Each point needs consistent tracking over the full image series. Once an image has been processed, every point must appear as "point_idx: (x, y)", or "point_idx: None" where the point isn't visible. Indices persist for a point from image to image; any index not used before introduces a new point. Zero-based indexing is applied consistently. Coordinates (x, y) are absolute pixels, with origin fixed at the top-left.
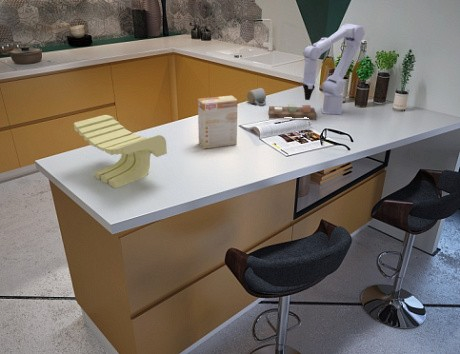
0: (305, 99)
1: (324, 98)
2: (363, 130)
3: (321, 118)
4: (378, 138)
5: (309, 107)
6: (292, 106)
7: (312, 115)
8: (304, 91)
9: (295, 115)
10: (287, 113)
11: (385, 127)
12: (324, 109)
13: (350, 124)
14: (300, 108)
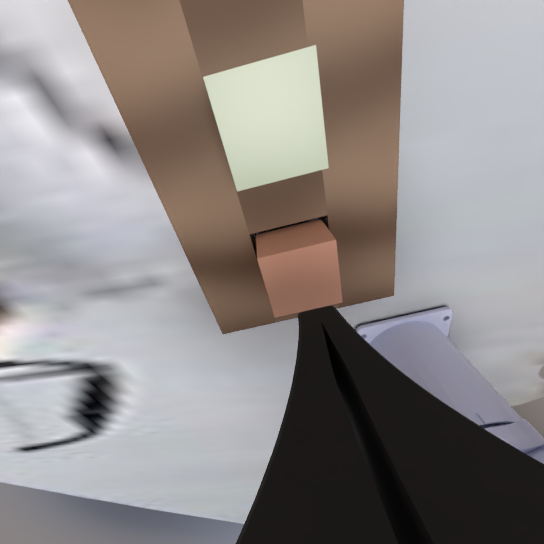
0: (299, 317)
1: (449, 400)
2: (182, 456)
3: (269, 329)
4: (127, 485)
5: (272, 307)
6: (236, 130)
7: (213, 310)
8: (343, 404)
9: (158, 184)
10: (132, 84)
11: (249, 485)
12: (388, 342)
13: (231, 425)
14: (359, 201)
